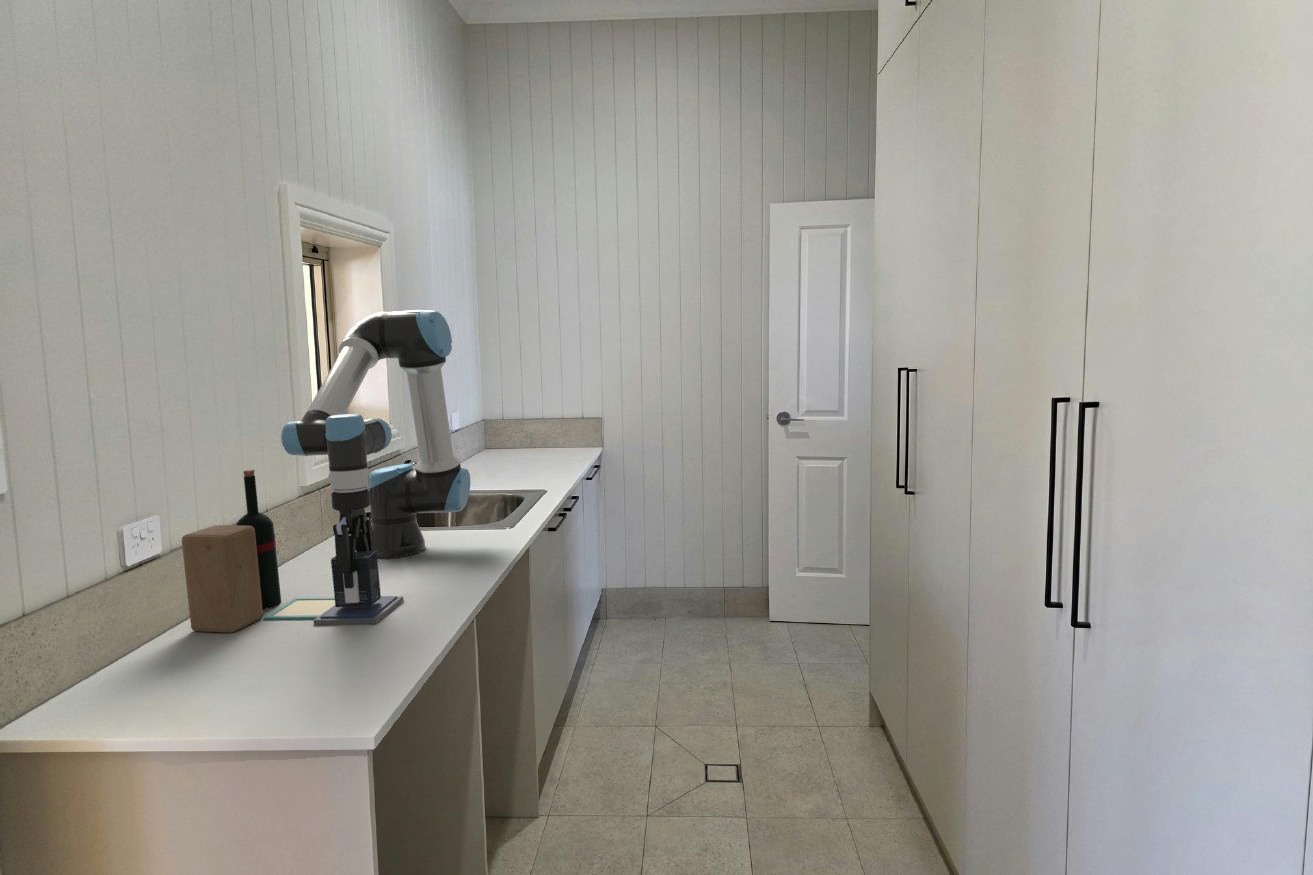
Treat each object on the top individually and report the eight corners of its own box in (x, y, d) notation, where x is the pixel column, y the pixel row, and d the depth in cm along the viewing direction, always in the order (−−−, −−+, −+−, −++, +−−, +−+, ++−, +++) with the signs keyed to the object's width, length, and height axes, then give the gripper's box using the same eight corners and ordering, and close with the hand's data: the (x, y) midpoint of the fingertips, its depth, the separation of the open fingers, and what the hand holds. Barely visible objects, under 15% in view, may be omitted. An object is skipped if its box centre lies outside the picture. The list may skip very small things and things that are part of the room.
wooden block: (233, 634, 169) (222, 536, 167) (189, 632, 171) (178, 535, 169) (265, 617, 179) (256, 524, 176) (223, 616, 181) (214, 524, 178)
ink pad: (346, 601, 188) (345, 595, 188) (403, 600, 187) (403, 594, 187) (313, 624, 173) (313, 618, 173) (376, 624, 172) (375, 617, 172)
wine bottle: (292, 595, 194) (280, 465, 190) (271, 610, 184) (257, 473, 180) (258, 596, 194) (245, 466, 190) (235, 611, 184) (221, 474, 180)
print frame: (295, 600, 190) (294, 597, 190) (355, 599, 189) (355, 597, 189) (264, 619, 178) (263, 617, 178) (328, 618, 176) (328, 616, 176)
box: (381, 598, 182) (377, 550, 181) (371, 606, 177) (367, 557, 175) (345, 599, 183) (340, 551, 181) (334, 607, 177) (330, 558, 176)
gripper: (352, 481, 186) (360, 584, 189) (311, 498, 168) (321, 612, 171) (385, 480, 186) (393, 583, 189) (348, 497, 167) (357, 611, 170)
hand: (359, 597), depth 180 cm, fingers closed on box, 6 cm apart
